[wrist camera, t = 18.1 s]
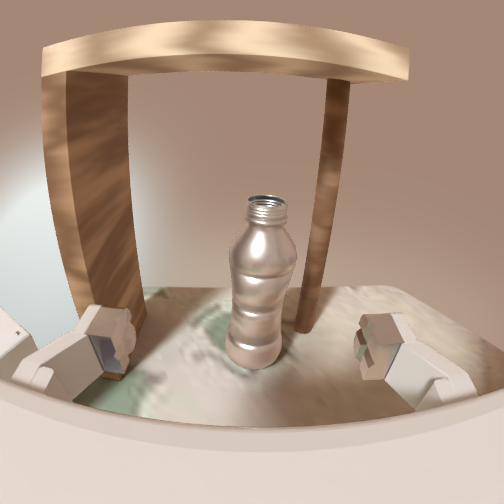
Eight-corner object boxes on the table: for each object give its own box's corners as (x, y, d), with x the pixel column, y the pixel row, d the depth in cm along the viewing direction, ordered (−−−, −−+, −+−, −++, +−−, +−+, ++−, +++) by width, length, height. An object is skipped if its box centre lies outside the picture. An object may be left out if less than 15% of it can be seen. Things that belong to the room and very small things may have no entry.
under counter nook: (314, 321, 44) (354, 63, 27) (331, 392, 32) (409, 49, 16) (130, 311, 43) (109, 58, 27) (102, 377, 31) (42, 48, 15)
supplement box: (41, 383, 28) (-1, 301, 22) (78, 416, 26) (32, 332, 20) (4, 417, 22) (-51, 338, 16) (37, 456, 20) (-28, 380, 14)
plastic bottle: (230, 335, 40) (236, 186, 31) (281, 343, 39) (304, 194, 30) (219, 371, 34) (221, 208, 25) (277, 380, 34) (304, 218, 24)
